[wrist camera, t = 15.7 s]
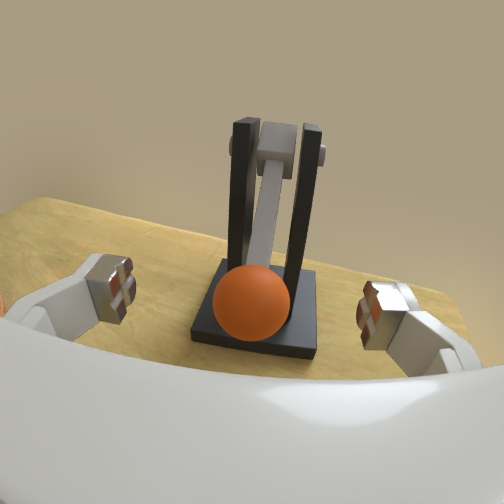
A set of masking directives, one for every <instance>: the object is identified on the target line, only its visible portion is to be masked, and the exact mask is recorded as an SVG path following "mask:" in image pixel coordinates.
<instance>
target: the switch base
mask: <svg viewBox="0 0 504 504" xmlns="http://www.w3.org/2000/svg"><path fill="white" fill-rule="evenodd" d="M259 131H260V118H252V117H246V118H244V119H241V120H238V121H236V122H234V123H233V135H232V136H231V139H230V143H229V154H230V156H231V176H230V178H231V179H230V198H229V224H228V254H227V259H225V258H223V259H222V261H221V263H220V265H219V267H218V269H217V272H216V274H215V276H214V278H213V280H212V283H211V285H210V287H209V289H208V292H207V294H206V296H205V298H204V300H203V303H202V305H201V307H200V309H199V312H198V314H197V316H196V318H195V321H194V323H193V325H192V328H191V339H192V341H197V342H202V343H207V344H212V345H217V346H223V347H228V348H234V349H240V350H246V351H252V352H258V353H265V354H272V355H279V356H287V357H295V358H303V359H314V356H315V353H316V350H317V321H316V285H315V271H311V270H303V269H301V266H302V260H303V255H304V249H305V243H306V238H307V232H308V226H309V220H310V214H311V208H312V201H313V195H314V188H315V181H316V174H317V167H318V166H321V167H322V166H323V165H324V159H325V151H326V150H325V149H326V148H325V146H324V145H321V137H322V131H321V130H320V128H319V127H318V125H315V124H308V123H304V124H303V133H302V142H301V150H300V158H299V167H298V175H297V183H296V191H295V198H294V206H293V214H292V221H291V228H290V235H289V242H288V249H287V255H286V262H285V267H282V266H274V265H270V266H269V269H270V270H272V271H273V272H275V273H276V274H277V275H278V276H279V277H280V278H281V279H282V280H283V282H284V283H285V285H286V287H287V290H288V293H289V297H290V308H289V313H288V316H287V319H286V321H285V322H284V324H283V325H282V327H281V328H280V329H279V330H278V331H277V332H276V333H275V334H273V335H272V336H270V337H268V338H266V339H263V340H259V341H244V340H240V339H237V338H235V337H233V336H231V335H230V334H228V333H227V332H226V331H225V330H224V329H223V328H222V327H221V326H220V325H219V323H218V321H217V319H216V317H215V314H214V311H213V295H214V291H215V289H216V286H217V284H218V283H219V281H220V280H221V279H222V277H223V276H224V275H225V274H226V273H228V272H229V271H231V270H232V269H234V268H236V267H239V266H243V265H246V260H247V254H248V249H249V244H250V239H251V234H252V222H253V209H254V194H255V182H256V168H257V147H258V142H259Z"/></svg>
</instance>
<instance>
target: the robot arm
mask: <svg viewBox="0 0 504 504" xmlns="http://www.w3.org/2000/svg"><path fill="white" fill-rule="evenodd" d="M132 269H133V265H132V260H131V259H130V258H129V257H122V256H115V255H108V254H100V253H92V254H91V255H90V256H89V257H88V258H87V259H86V260H85V261H84V262H83V264H82V265H81V266H80V267H79V268H78V269H77V270H76V271H75V273H74V274H73V275H72V276H67V277H64V278H62V279H60V280H58V281H55V282H53V283H51V284H49V285H47V286H45V287H42V288H40V289H38V290H36V291H34V292H32V293H30V294H27V295H25V296H23V297H21V298H19V299H17V301H16V302H15V303H14V304H13V305H12V306H11V308H10V309H9V310H8V311H7V312H6V314H5V315H4V316H3V317H0V504H504V364H502V365H497V366H492V367H486V368H483V366H482V364H481V362H480V360H479V358H478V356H477V354H476V352H475V350H474V348H473V346H472V345H471V344H469V343H468V342H467V341H465V340H464V339H463V338H462V337H460V336H459V335H458V334H456V333H455V332H454V331H452V330H451V329H450V328H448V327H447V326H446V325H444V324H443V323H442V322H440V321H439V320H437V319H436V318H435V317H433V316H432V315H431V314H429V313H428V312H426V311H422V309H421V307H420V305H419V303H418V301H417V300H416V298H415V296H414V294H413V292H412V290H411V289H410V287H409V285H408V284H407V283H405V282H379V281H367V282H366V284H365V286H364V289H363V292H364V295H365V297H363V298H362V299H361V300H360V301H359V304H358V307H357V313H356V320H357V325H358V327H359V328H360V329H361V330H362V333H361V340H362V343H363V347H364V350H383V351H386V352H387V353H388V354H389V356H390V357H391V358H392V359H393V360H394V361H395V362H396V363H397V364H398V366H399V367H400V368H401V369H402V370H403V371H404V372H405V374H406V375H407V376H408V377H405V378H390V379H367V380H317V379H292V378H276V377H262V376H251V375H241V374H231V373H223V372H215V371H207V370H200V369H193V368H187V367H181V366H175V365H169V364H163V363H158V362H153V361H148V360H143V359H138V358H134V357H129V356H125V355H120V354H116V353H112V352H108V351H104V350H100V349H96V348H92V347H89V346H85V345H81V344H78V343H74V342H73V341H74V340H75V339H77V338H78V337H80V336H81V335H82V334H84V333H85V332H86V331H88V330H89V329H91V328H92V327H93V326H95V325H96V324H97V323H99V321H102V322H107V323H112V324H118V325H120V323H121V322H122V320H123V318H124V316H125V314H126V313H127V311H126V307H127V306H129V305H130V304H132V302H133V300H134V298H135V294H136V281H135V278H134V277H133V276H132V274H131V271H132Z"/></svg>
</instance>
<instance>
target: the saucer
mask: <svg viewBox="0 0 504 504" xmlns="http://www.w3.org/2000/svg"><path fill="white" fill-rule="evenodd" d="M5 314H6V311H5V307H4V303H3V300H2V297H1V295H0V317H3V316H4V315H5Z"/></svg>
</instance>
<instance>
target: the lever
mask: <svg viewBox="0 0 504 504" xmlns="http://www.w3.org/2000/svg"><path fill="white" fill-rule="evenodd" d="M296 135H297V125H293V124H285V123H276V122H266V121H264V122H263V126H262V130H261V135H260V138H259V142H258V147H257V174H258V176H263V177H262V182H261V187H260V192H259V198H258V203H257V208H256V213H255V218H254V223H253V228H252V234H251V239H250V244H249V249H248V254H247V260H246V265H243V266H239V267H236V268H234V269H232V270H231V271H229V272H228V273H226V274H225V275H224V276H223V277H222V279H221V280H220V281H219V283H218V284H217V286H216V289H215V291H214V295H213V311H214V314H215V317H216V319H217V321H218V323H219V325H220V326H221V327H222V328H223V329H224V330H225V331H226V332H227V333H228V334H230V335H231V336H233V337H235V338H237V339H240V340H244V341H259V340H263V339H266V338H268V337H270V336H272V335H273V334H275V333H276V332H277V331H278V330H279V329H280V328H281V327H282V325H283V324H284V322H285V321H286V319H287V316H288V313H289V308H290V297H289V293H288V290H287V287H286V285H285V283H284V282H283V280H282V279H281V278H280V277H279V276H278V275H277V274H276V273H275V272H273V271H272V270H270V269H269V266H270V259H271V253H272V246H273V240H274V233H275V226H276V219H277V213H278V206H279V199H280V192H281V185H282V179H291V178H292V170H293V162H294V153H295V144H296Z"/></svg>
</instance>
